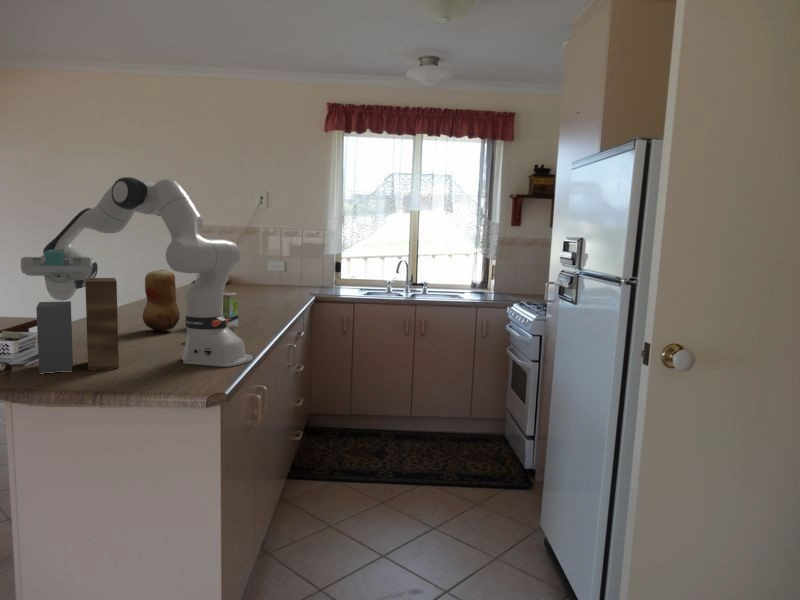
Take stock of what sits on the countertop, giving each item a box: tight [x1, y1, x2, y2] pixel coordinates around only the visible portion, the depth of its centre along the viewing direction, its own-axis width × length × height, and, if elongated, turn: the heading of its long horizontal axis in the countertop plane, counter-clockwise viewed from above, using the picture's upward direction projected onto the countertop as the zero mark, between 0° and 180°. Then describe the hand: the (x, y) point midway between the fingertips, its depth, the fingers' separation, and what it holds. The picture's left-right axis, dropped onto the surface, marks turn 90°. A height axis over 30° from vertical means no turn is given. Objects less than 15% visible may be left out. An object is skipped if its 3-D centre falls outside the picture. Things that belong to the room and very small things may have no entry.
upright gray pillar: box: [35, 300, 74, 374], centre depth 164 cm, size 12×8×19 cm, turn 29°
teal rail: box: [45, 250, 64, 266], centre depth 175 cm, size 20×4×4 cm, turn 28°
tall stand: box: [84, 277, 120, 371], centre depth 170 cm, size 12×8×26 cm, turn 29°
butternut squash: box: [142, 268, 181, 333], centre depth 226 cm, size 14×13×25 cm
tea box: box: [223, 292, 239, 328], centre depth 240 cm, size 15×10×15 cm, turn 84°
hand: (56, 254), depth 180 cm, fingers closed on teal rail, 4 cm apart
